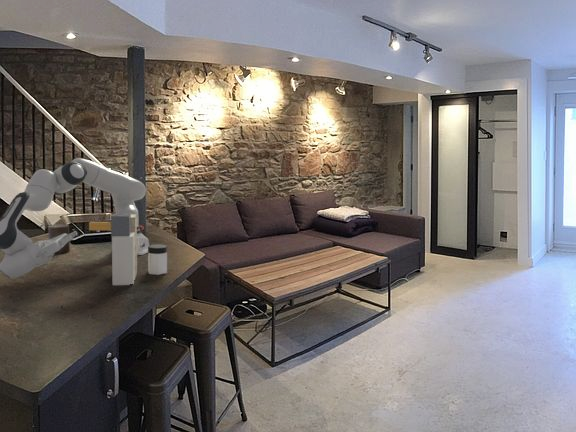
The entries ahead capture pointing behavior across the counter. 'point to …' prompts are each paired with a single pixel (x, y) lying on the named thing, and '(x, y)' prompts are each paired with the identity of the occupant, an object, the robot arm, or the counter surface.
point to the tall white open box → (123, 259)
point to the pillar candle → (56, 231)
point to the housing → (114, 225)
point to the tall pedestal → (134, 229)
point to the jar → (157, 259)
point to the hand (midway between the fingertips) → (74, 234)
